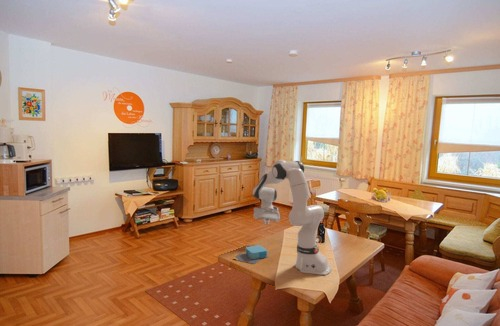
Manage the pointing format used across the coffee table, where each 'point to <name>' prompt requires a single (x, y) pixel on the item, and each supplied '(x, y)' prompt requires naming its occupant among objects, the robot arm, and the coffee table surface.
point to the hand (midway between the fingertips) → (266, 224)
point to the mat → (246, 258)
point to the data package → (256, 252)
